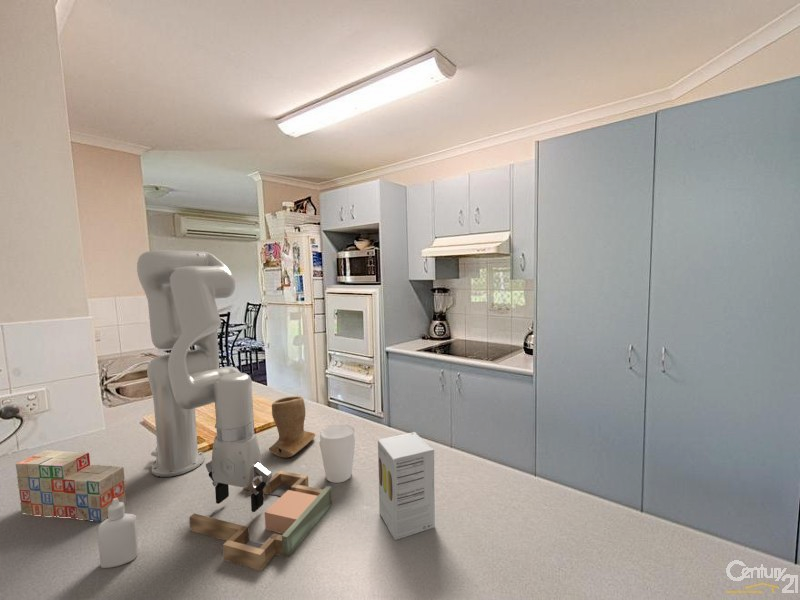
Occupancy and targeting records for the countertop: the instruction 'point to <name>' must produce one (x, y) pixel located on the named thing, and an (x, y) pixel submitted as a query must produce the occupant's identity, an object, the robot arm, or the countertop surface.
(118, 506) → the eye dropper bottle
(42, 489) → the stack of blocks
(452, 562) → the countertop surface
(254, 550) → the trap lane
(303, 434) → the stone cup
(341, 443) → the cup
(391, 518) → the supplement box
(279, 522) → the block
